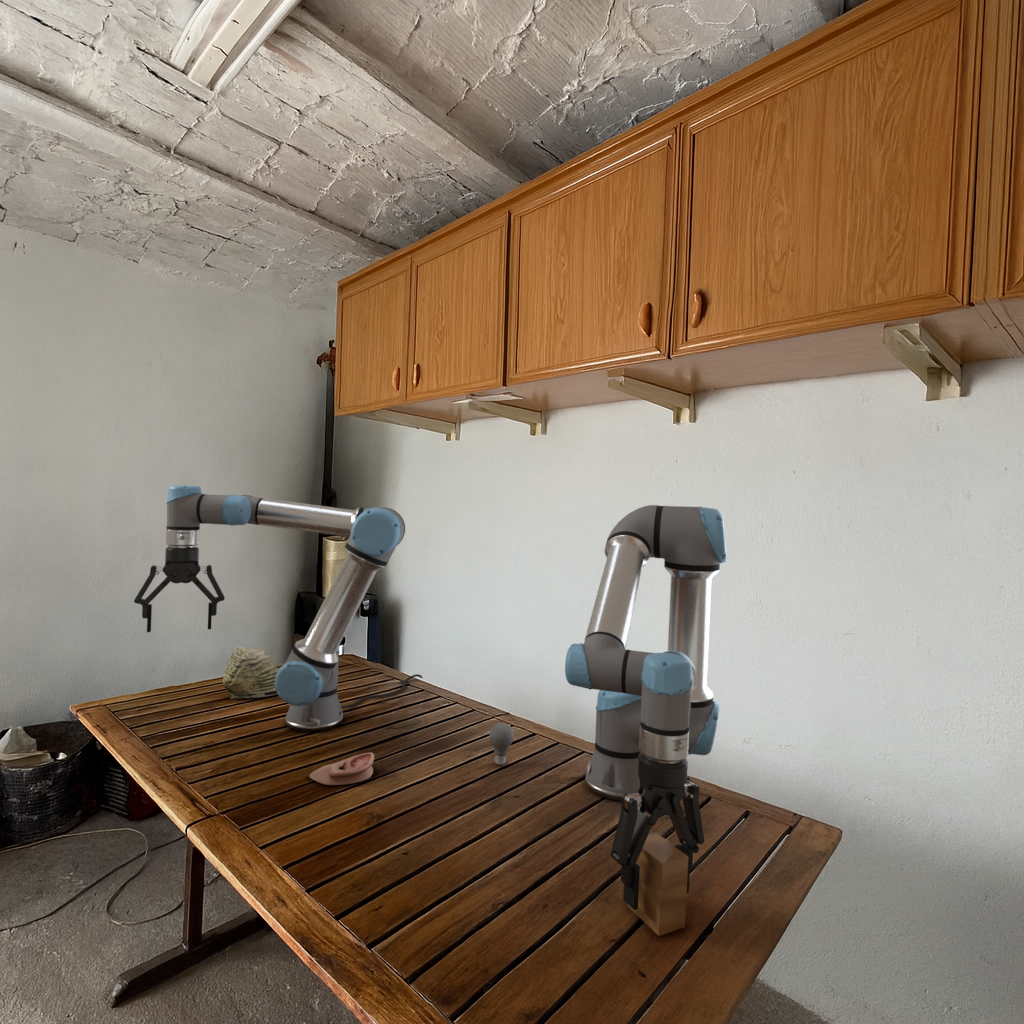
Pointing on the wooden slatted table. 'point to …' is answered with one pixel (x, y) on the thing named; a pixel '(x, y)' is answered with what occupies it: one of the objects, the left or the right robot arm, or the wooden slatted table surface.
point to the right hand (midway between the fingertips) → (656, 896)
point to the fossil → (250, 674)
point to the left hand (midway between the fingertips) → (179, 629)
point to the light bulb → (501, 741)
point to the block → (662, 885)
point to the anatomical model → (345, 770)
